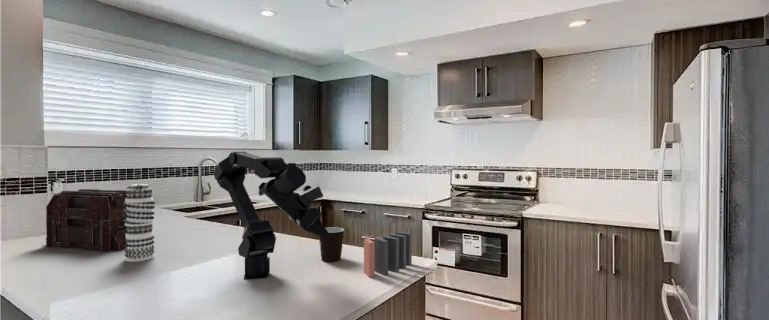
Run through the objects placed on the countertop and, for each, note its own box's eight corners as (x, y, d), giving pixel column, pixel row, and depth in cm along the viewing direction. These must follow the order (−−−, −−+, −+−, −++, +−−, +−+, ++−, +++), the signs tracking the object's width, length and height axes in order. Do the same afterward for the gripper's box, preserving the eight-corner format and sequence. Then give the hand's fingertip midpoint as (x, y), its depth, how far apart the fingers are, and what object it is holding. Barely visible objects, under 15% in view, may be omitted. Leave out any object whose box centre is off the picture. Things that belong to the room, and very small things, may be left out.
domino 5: (409, 265, 123) (409, 234, 123) (395, 262, 125) (395, 232, 125) (411, 263, 124) (411, 233, 124) (397, 261, 127) (397, 231, 126)
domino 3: (395, 272, 116) (395, 239, 115) (383, 268, 119) (383, 236, 119) (399, 270, 117) (399, 238, 117) (386, 267, 120) (386, 235, 120)
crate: (37, 247, 145) (36, 192, 144) (87, 236, 163) (86, 187, 163) (112, 253, 137) (111, 194, 136) (155, 241, 155) (155, 189, 154)
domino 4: (403, 268, 119) (403, 236, 119) (389, 266, 122) (389, 234, 122) (405, 267, 121) (406, 235, 120) (391, 264, 123) (392, 233, 123)
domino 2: (383, 275, 113) (383, 241, 112) (374, 271, 117) (374, 238, 117) (388, 274, 114) (388, 240, 113) (378, 270, 118) (378, 237, 118)
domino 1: (369, 277, 111) (369, 243, 111) (363, 272, 115) (364, 239, 115) (374, 276, 111) (374, 242, 111) (369, 271, 116) (369, 238, 116)
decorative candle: (137, 263, 124) (136, 186, 124) (116, 260, 127) (115, 185, 127) (161, 255, 133) (161, 183, 132) (142, 253, 136) (141, 182, 135)
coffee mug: (339, 263, 124) (339, 233, 124) (314, 262, 126) (314, 231, 125) (349, 254, 135) (349, 226, 135) (326, 253, 137) (326, 225, 137)
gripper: (312, 176, 99) (353, 216, 103) (299, 175, 116) (335, 210, 120) (281, 209, 96) (325, 249, 100) (272, 203, 113) (310, 237, 117)
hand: (325, 234), depth 109 cm, fingers open, 9 cm apart
